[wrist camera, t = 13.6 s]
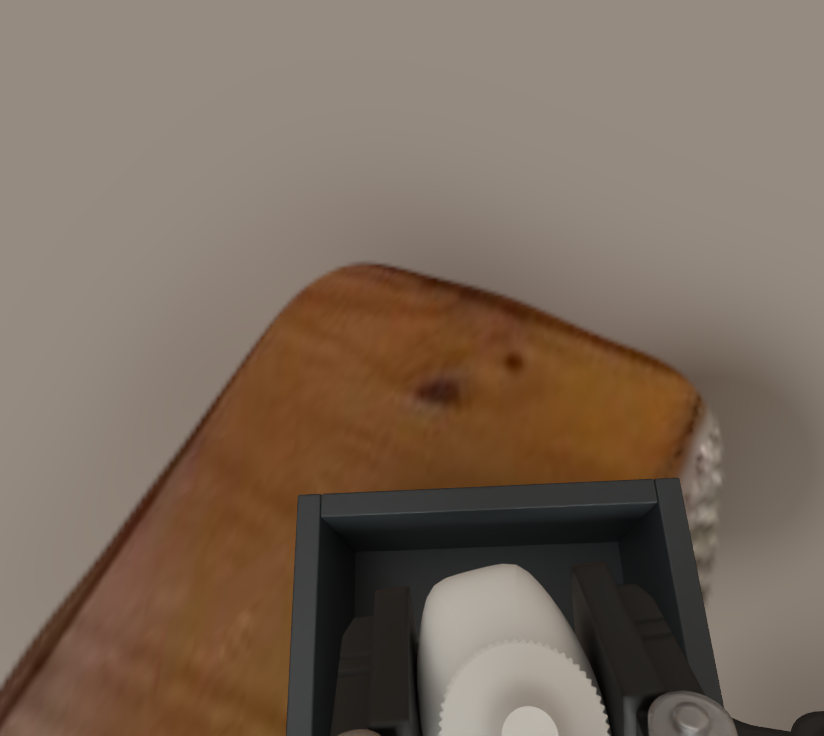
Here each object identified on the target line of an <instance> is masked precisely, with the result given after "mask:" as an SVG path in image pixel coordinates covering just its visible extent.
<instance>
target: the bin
mask: <svg viewBox="0 0 824 736" xmlns="http://www.w3.org/2000/svg"><path fill="white" fill-rule="evenodd" d="M599 562H606V564H607V565H608V567H609V569H610V572H611V574H612V576H613V578H614V580H615V582H616V584H617V585H623V584H631V583H636V584H637V585H638V586H640V587H641V588H642V589H643V590H644V591H646V592H647V593H648V594H649V595H651V596H652V597H653V598H654V600H655V601H656V603H657V605H658V607H659V609H660V611H661V613H662V615H663V616H664V620H666V622H667V624H668V626H669V628H670V630H671V631H672V635H673V636H674V637H675V639H676V641H677V643H678V645H679V646H680V648H681V650H682V652H683V654H684V656H685V658H686V660H687V661H688V663H689V665H690V667H691V669H692V671H693V673H694V675H695V676H696V678H697V680H698V682H699V684H700V686H701V688H702V690H703V691H704V693H705V695H706V696H707V697H709V698H711V699H713V700H714V701H716V702H717V703H718V704H720V705H721V706H722V707H723V708H724V706H723V700H722V695H721V690H720V685H719V680H718V675H717V669H716V664H715V659H714V654H713V649H712V644H711V639H710V634H709V629H708V623H707V618H706V613H705V608H704V603H703V598H702V592H701V587H700V582H699V577H698V572H697V567H696V562H695V557H694V551H693V546H692V541H691V536H690V531H689V526H688V521H687V516H686V510H685V505H684V500H683V495H682V490H681V485H680V480H679V478H661V479H655V480H653V479H640V480H618V481H596V482H574V483H552V484H530V485H508V486H486V487H464V488H442V489H420V490H398V491H376V492H354V493H332V494H322V495H321V494H308V495H299V496H298V506H297V526H296V547H295V567H294V587H293V607H292V627H291V647H290V667H289V687H288V707H287V727H286V736H330V734H331V726H332V718H333V709H334V701H335V693H336V684H337V677H338V668H339V660H340V651H341V643H342V636H343V635H344V633H345V631H346V630H347V628H348V627H349V625H350V623H351V622H352V620H353V619H354V618H358V617H366V616H374V602H375V592H376V591H377V590H384V589H392V588H400V587H409V590H410V594H411V600H412V606H413V611H414V617H415V623H416V628H417V634H418V640H419V632H420V626H421V620H422V615H423V610H424V606H425V602H426V599H427V597H428V595H429V593H430V592H431V590H432V588H433V586H434V585H436V584H437V583H439V582H440V581H442V580H443V579H445V578H447V577H450V576H453V575H457V574H460V573H464V572H467V571H471V570H475V569H479V568H483V567H487V566H492V565H498V564H513V565H518V566H519V567H521V568H523V569H524V570H526V571H528V572H529V573H530V574H531V575H532V576H533V577H534V578H535V579H536V580H537V581H538V582H539V583H540V584H541V586H542V587H543V588H544V589H545V590H546V592H547V593H548V594H549V595H550V597H551V598H552V599H553V601H554V602H555V604H556V605H557V606H558V608H559V609H560V610H561V612H562V614H563V615H564V617H565V618H566V620H567V621H568V623H569V625H570V626H571V628H572V630H573V631H574V633H575V626H574V614H573V601H572V588H571V575H570V568H571V566H575V565H583V564H591V563H599ZM575 635H576V633H575Z"/></svg>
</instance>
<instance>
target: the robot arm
mask: <svg viewBox="0 0 824 736" xmlns="http://www.w3.org/2000/svg"><path fill="white" fill-rule="evenodd" d="M570 575H571V588H572V601H573V614H574V626H575V633H576V637H577V639H578V640H579V642H580V644H581V646H582V648H583V650H584V652H585V654H586V656H587V658H588V660H589V663H590V665H591V668H592V670H593V672H594V675H595V677H596V680H597V683H598V686H599V688H600V691H601V694H602V697H603V701H604V704H605V708H606V711H607V715H608V719H609V723H610V728H611V732H612V736H824V711H820V712H812V713H808V714H805V715H803V716H801V717H800V718H798V719H797V720H796V722H795V723H794V724H793V727H792V729H791V732H789V731H783V730H776V729H770V728H764V727H758V726H753V725H749V724H746V723H743V722H740V721H738V720H735V719H733V718H732V717H731V716H730V715H729V713H728V712H727V711H726V710H725V709H724V708H723V707H722V706H721V705H720V704H718V703H717V702H716V701H714V700H713V699H711V698H709V697H707V696H706V695H705V693H704V691H703V690H702V688H701V686H700V684H699V682H698V680H697V678H696V676H695V675H694V673H693V671H692V669H691V667H690V665H689V663H688V661H687V660H686V658H685V656H684V654H683V652H682V650H681V648H680V646H679V645H678V643H677V641H676V639H675V637H674V636H673V635H672V631H671V630H670V628H669V626H668V624H667V622H666V620H664V616H663V615H662V613H661V611H660V609H659V607H658V605H657V603H656V601H655V600H654V598H653V597H652V596H651V595H649V594H648V593H647V592H646V591H644V590H643V589H642V588H641V587H640V586H638V585H637V584H636V583H631V584H623V585H617V584H616V582H615V580H614V578H613V576H612V574H611V572H610V569H609V567H608V565H607V564H606V562H599V563H591V564H583V565H575V566H571V568H570ZM418 641H419V640H418V634H417V628H416V623H415V617H414V611H413V606H412V600H411V594H410V590H409V587H400V588H392V589H384V590H377V591H376V592H375V602H374V616H366V617H358V618H354V619H353V620H352V622H351V623H350V625H349V627H348V628H347V630H346V631H345V633H344V635H343V636H342V643H341V651H340V660H339V668H338V677H337V684H336V693H335V701H334V709H333V718H332V726H331V734H330V736H423V734H422V729H421V723H420V715H419V707H418V695H417V652H418Z"/></svg>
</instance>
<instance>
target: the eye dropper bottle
mask: <svg viewBox="0 0 824 736" xmlns="http://www.w3.org/2000/svg"><path fill="white" fill-rule="evenodd" d="M417 695H418V707H419V715H420V723H421V729H422V734H423V736H612V732H611V728H610V723H609V719H608V715H607V711H606V708H605V704H604V701H603V697H602V694H601V691H600V688H599V686H598V683H597V680H596V677H595V675H594V672H593V670H592V668H591V665H590V663H589V660H588V658H587V656H586V654H585V652H584V650H583V648H582V646H581V644H580V642H579V640H578V639H577V637H576V635H575V633H574V631H573V630H572V628H571V626H570V625H569V623H568V621H567V620H566V618H565V617H564V615H563V614H562V612H561V610H560V609H559V608H558V606H557V605H556V604H555V602H554V601H553V599H552V598H551V597H550V595H549V594H548V593H547V592H546V590H545V589H544V588H543V587H542V586H541V584H540V583H539V582H538V581H537V580H536V579H535V578H534V577H533V576H532V575H531V574H530V573H529V572H528V571H526V570H524V569H523V568H521V567H519V566H518V565H513V564H498V565H492V566H487V567H483V568H479V569H475V570H471V571H467V572H464V573H460V574H457V575H453V576H450V577H447V578H445V579H443V580H442V581H440V582H439V583H437V584H436V585H434V586H433V588H432V590H431V592H430V593H429V595H428V597H427V599H426V602H425V606H424V610H423V615H422V620H421V626H420V632H419V641H418V652H417Z"/></svg>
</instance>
